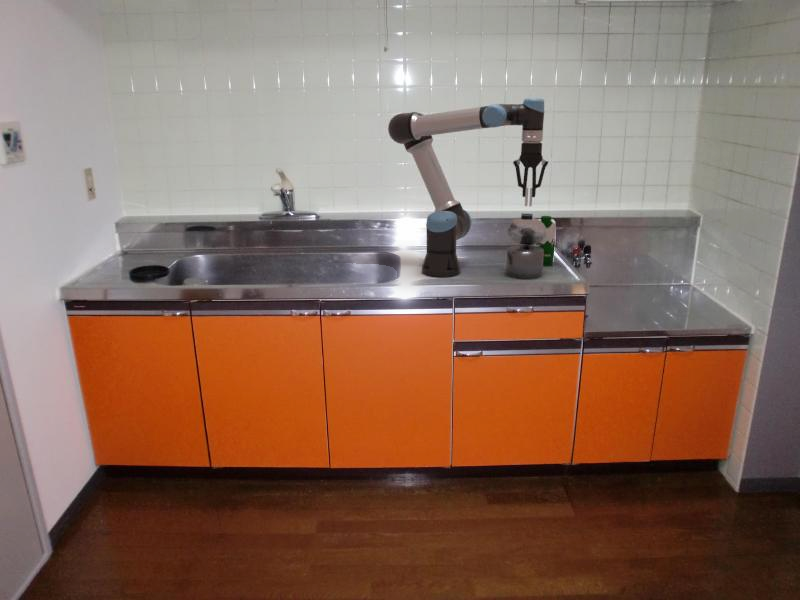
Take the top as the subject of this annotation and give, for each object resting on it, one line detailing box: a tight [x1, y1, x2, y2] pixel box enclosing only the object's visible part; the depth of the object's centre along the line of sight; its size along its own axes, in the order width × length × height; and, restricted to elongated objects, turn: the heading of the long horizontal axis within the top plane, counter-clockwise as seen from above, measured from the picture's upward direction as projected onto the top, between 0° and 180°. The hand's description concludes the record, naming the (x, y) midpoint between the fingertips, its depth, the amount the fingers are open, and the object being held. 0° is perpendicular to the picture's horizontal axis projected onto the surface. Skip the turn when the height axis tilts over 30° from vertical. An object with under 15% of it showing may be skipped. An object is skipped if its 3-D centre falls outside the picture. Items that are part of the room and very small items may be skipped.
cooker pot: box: [505, 244, 544, 280], centre depth 240 cm, size 14×15×10 cm
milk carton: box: [532, 215, 557, 266], centre depth 253 cm, size 9×9×20 cm
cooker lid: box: [507, 213, 546, 246], centre depth 239 cm, size 15×16×3 cm
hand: (528, 205), depth 235 cm, fingers closed
